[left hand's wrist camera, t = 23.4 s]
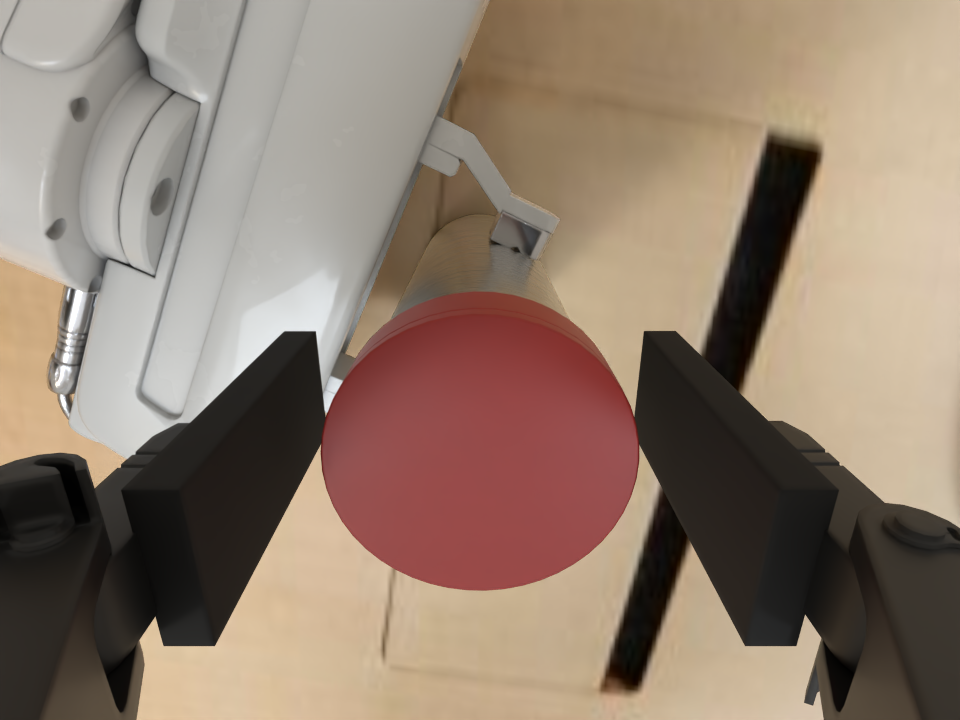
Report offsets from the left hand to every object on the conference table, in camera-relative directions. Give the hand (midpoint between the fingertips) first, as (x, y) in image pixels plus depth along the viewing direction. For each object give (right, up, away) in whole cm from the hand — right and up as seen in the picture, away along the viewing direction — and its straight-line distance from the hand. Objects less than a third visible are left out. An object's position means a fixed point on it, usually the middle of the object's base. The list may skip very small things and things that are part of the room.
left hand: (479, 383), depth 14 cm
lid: (0, -1, -3) cm, 3 cm away
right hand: (+1, +2, +6) cm, 6 cm away
